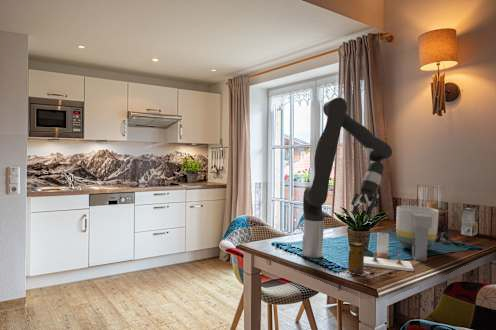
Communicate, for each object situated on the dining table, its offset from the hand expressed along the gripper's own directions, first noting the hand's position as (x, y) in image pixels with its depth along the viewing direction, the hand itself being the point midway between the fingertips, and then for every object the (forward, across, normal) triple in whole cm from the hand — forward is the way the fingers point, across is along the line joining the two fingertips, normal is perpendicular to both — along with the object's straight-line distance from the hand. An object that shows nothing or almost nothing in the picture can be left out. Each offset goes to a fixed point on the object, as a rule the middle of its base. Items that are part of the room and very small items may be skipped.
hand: (360, 214), depth 158 cm
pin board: (+16, +6, +18) cm, 25 cm away
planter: (-1, -7, +47) cm, 47 cm away
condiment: (+26, +9, 0) cm, 27 cm away
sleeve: (+12, -4, +23) cm, 26 cm away
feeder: (+5, +4, +37) cm, 38 cm away
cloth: (-14, -11, +72) cm, 74 cm away
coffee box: (-32, -19, +102) cm, 109 cm away
